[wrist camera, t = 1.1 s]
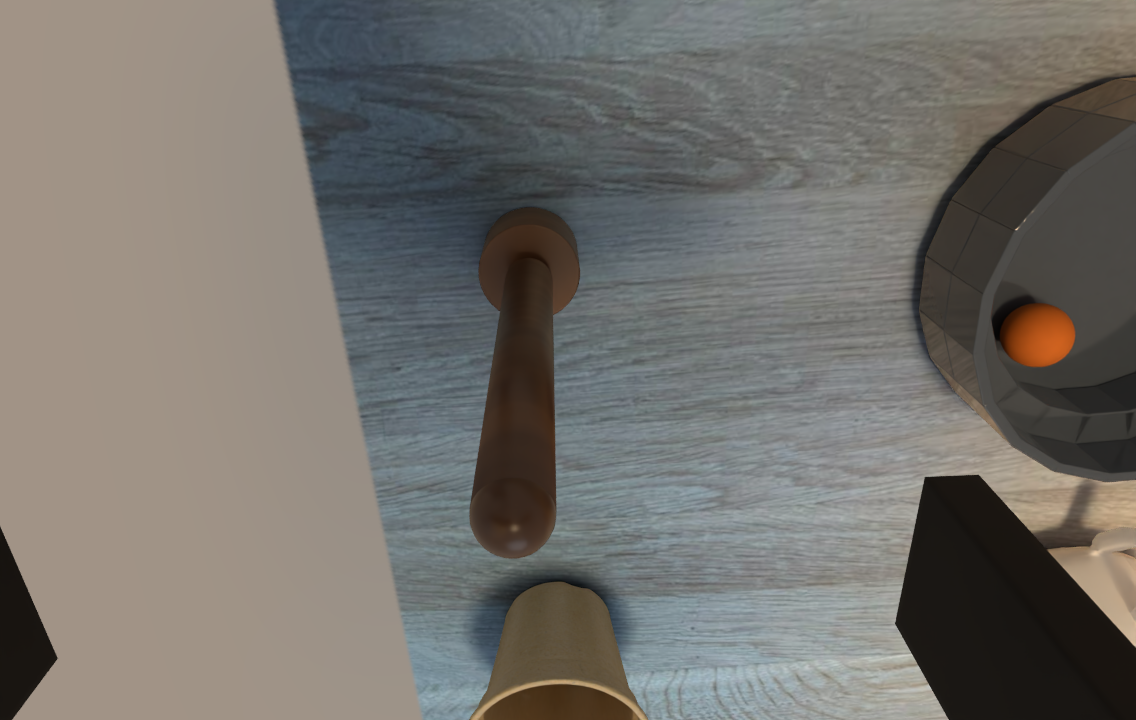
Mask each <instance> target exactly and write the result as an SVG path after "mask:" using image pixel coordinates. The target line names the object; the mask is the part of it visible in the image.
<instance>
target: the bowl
mask: <svg viewBox="0 0 1136 720" xmlns="http://www.w3.org/2000/svg"><path fill="white" fill-rule="evenodd" d="M926 255H927V256H926V257H925V264H924V272H923V280H922V288H921V296H920V304H919V314H920V318H921V322H922V327H923V331H924V335H925V340H926V344H927V348H928V353H929V356H930V358H931V359H932V361H933V362H934V363H935V365H936V366H937V368H938V369H939V370H940V372H941V373H942V375H943V376H944V377H945V379H946V380H947V382H948V383H949V384H950V386H951V387H952V388H953V390H954V391H955V392H956V393H957V394H958V395H959V396H960V397H961V398H962V399H963V400H964V401H965V402H966V403H967V404H968V405H969V406H970V407H971V408H972V409H973V410H974V411H975V412H977V413H978V414H979V415H980V416H981V417H982V418H983V419H984V420H985V421H986V422H987V423H988V424H989V425H990V426H991V427H992V428H993V429H994V430H995V431H996V432H997V433H998V434H999V435H1001V436H1002V437H1003V438H1004V439H1005V440H1006V441H1007V442H1008V443H1009V444H1010V445H1011V446H1012V447H1014V448H1015V449H1017V450H1019V451H1020V452H1022V453H1024V454H1025V455H1027V456H1029V457H1030V458H1032V459H1034V460H1035V461H1037V462H1038V463H1040V464H1042V465H1043V466H1045V467H1047V468H1048V469H1050V470H1052V471H1054V472H1058V473H1063V474H1068V475H1073V476H1078V477H1083V478H1088V479H1093V480H1098V481H1103V482H1116V481H1129V480H1136V77H1132V78H1120V79H1116V80H1112V81H1109V82H1107V83H1104V84H1102V85H1099V86H1097V87H1094V88H1092V89H1089V90H1087V91H1084V92H1082V93H1079V94H1077V95H1074V96H1072V97H1069V98H1067V99H1064V100H1062V101H1059V102H1057V103H1054V104H1052V105H1051V106H1049V107H1048V108H1046V109H1045V110H1044V111H1042V112H1041V113H1040V114H1038V115H1037V116H1035V117H1034V118H1033V119H1031V120H1030V121H1029V122H1027V123H1026V124H1025V125H1023V126H1022V127H1021V128H1019V129H1018V130H1017V131H1015V132H1014V133H1012V134H1011V135H1010V136H1008V137H1007V138H1006V139H1004V140H1003V141H1002V142H1000V143H999V144H998V145H996V146H995V148H993V149H992V150H991V151H990V152H989V153H988V155H987V156H986V157H985V158H984V160H983V161H982V162H981V163H980V164H979V166H978V167H977V168H976V169H975V171H974V172H973V173H972V174H971V175H970V177H969V178H968V179H967V180H966V181H965V183H964V184H963V185H962V186H961V188H960V189H959V190H958V191H957V192H956V194H955V195H954V196H953V197H952V200H951V201H950V203H949V205H948V207H947V209H946V212H945V214H944V216H943V218H942V220H941V223H940V225H939V227H938V229H937V231H936V234H935V236H934V238H933V240H932V242H931V245H930V247H929V249H928V251H927V253H926ZM1032 303H1044V304H1049V305H1053V306H1055V307H1057V308H1059V309H1061V310H1062V311H1063V312H1065V313H1066V314H1067V315H1068V316H1069V318H1070V319H1071V321H1072V323H1073V325H1074V328H1075V341H1074V344H1073V347H1072V348H1071V350H1070V352H1069V353H1068V354H1067V355H1066V356H1065V357H1064V358H1063V359H1061V360H1060V361H1058V362H1057V363H1054V364H1052V365H1049V366H1045V367H1029V366H1025V365H1022V364H1020V363H1017V362H1016V361H1014V360H1013V359H1011V358H1010V357H1009V356H1008V355H1007V354H1006V352H1005V351H1004V349H1003V347H1002V345H1001V342H1000V330H1001V326H1002V324H1003V322H1004V320H1005V319H1006V317H1007V316H1008V315H1009V314H1010V313H1011V312H1013V311H1014V310H1015V309H1017V308H1019V307H1021V306H1024V305H1027V304H1032Z"/></svg>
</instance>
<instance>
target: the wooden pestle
mask: <svg viewBox="0 0 1136 720" xmlns="http://www.w3.org/2000/svg"><path fill="white" fill-rule="evenodd" d="M579 279H580V267H579V258H578V250H577V243H576V240H575V237H574V235H573V233H572V231H571V229H570V228H569V226H568V225H567V224H566V223H565V222H564V221H563V220H562V219H561V218H560V217H559V216H557V215H556V214H554V213H552V212H550V211H547V210H545V209H541V208H535V207H525V208H519V209H515V210H513V211H510V212H508V213H506V214H505V215H503V216H502V217H500V218H499V219H498V220H497V221H496V222H495V223H494V224H493V226H492V227H491V228H490V230H489V232H488V234H487V237H486V239H485V243H484V247H483V251H482V254H481V258H480V263H479V280H480V285H481V288H482V290H483V292H484V294H485V296H486V297H487V299H488V300H489V302H490V303H491V304H492V305H493V306H494V307H495V308H496V309H498V310H499V311H500V316H499V322H498V329H497V335H496V342H495V348H494V355H493V361H492V368H491V374H490V381H489V387H488V394H487V400H486V407H485V413H484V420H483V426H482V433H481V439H480V446H479V452H478V458H477V465H476V471H475V478H474V484H473V491H472V497H471V504H470V525H471V528H472V531H473V533H474V536H475V537H476V539H477V541H478V542H479V543H480V544H481V545H482V546H483V547H484V548H485V549H486V550H487V551H489V552H490V553H492V554H494V555H496V556H500V557H503V558H521V557H525V556H528V555H531V554H532V553H534V552H536V551H537V550H538V549H540V548H541V547H542V546H543V545H544V544H545V543H546V542H547V540H548V539H549V537H550V535H551V533H552V531H553V529H554V526H555V521H556V464H555V403H554V342H553V315H554V314H556V313H558V312H559V311H561V310H562V309H563V308H564V307H565V306H566V305H567V304H568V303H569V302H570V301H571V299H572V298H573V296H574V295H575V292H576V290H577V288H578V284H579Z"/></svg>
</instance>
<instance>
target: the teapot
mask: <svg viewBox="0 0 1136 720" xmlns="http://www.w3.org/2000/svg"><path fill="white" fill-rule="evenodd" d="M1134 547H1136V528H1126V527H1121V528H1117V529H1113V530H1109V531H1106V532H1102V533H1098V534H1097V535H1096V537H1095V538H1094V539H1093V541H1092V545H1091V547H1069V548H1065V547H1061V548H1052V549H1047V551H1048V552H1049V553H1050V554H1051V555H1052V556H1053V557H1054V558H1055V559H1056V560H1057V562H1058V563H1059V564H1060V565H1061V566H1062V567H1063V568H1064V569H1065V570H1066V571H1067V572H1068V574H1069V575H1070V576H1071V577H1072V578H1073V579H1074V580H1075V581H1076V582H1077V583H1078V585H1079V586H1080V587H1081V588H1082V589H1083V590H1084V591H1085V592H1086V593H1087V594H1088V596H1089V597H1090V598H1091V599H1092V600H1093V601H1094V602H1095V603H1096V604H1097V605H1098V607H1099V608H1100V609H1101V610H1102V611H1103V612H1104V613H1105V614H1106V615H1107V616H1108V618H1109V619H1110V620H1111V621H1112V622H1113V623H1114V624H1115V625H1116V626H1117V627H1118V629H1119V630H1120V631H1121V632H1122V633H1123V634H1124V635H1125V636H1126V637H1127V638H1128V640H1129V641H1130V642H1131V643H1132V644H1133V645H1134V646H1135V647H1136V558H1135V557H1132V556H1129V555H1127V554H1124V553H1120V552H1116V551H1123V550H1127V549H1130V548H1134Z"/></svg>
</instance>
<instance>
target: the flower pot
mask: <svg viewBox="0 0 1136 720" xmlns="http://www.w3.org/2000/svg"><path fill="white" fill-rule="evenodd" d="M469 720H648V718H647V716H646V714H645V713H644V712H643V710H642V709H641V708H640V706H639V705H638V703H637V700H636V698H635V696H634V694H633V693H632V692H631V690H630V689H629V686H628V683H627V679H626V675H625V672H624V668H623V665H622V661H621V657H620V653H619V650H618V646H617V642H616V638H615V635H614V631H613V627H612V623H611V619H610V614H609V611H608V609H607V607H606V605H605V603H604V602H603V601H602V599H601V598H600V597H599V596H598V595H597V594H595V593H594V592H593V591H591V590H590V589H587V588H579V587H575V586H572V585H570V584H568V583H565V582H549V583H544V584H540V585H537V586H534V587H532V588H530V589H528V590H526V591H525V592H523V593H522V594H520V595H519V596H518V597H517V598H516V599H515V600H514V602H513V604H512V605H511V607H510V609H509V610H508V612H507V615H506V618H505V624H504V628H503V632H502V636H501V640H500V644H499V648H498V652H497V655H496V659H495V663H494V667H493V671H492V675H491V678H490V682H489V686H488V689H487V691H486V693H485V694H484V696H483V697H482V699H481V701H480V703H479V706H478V708H477V709H476V710H475V712H474V713H473V714H472V716H471V717H470V719H469Z"/></svg>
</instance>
